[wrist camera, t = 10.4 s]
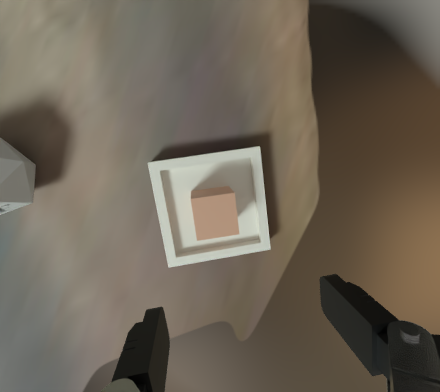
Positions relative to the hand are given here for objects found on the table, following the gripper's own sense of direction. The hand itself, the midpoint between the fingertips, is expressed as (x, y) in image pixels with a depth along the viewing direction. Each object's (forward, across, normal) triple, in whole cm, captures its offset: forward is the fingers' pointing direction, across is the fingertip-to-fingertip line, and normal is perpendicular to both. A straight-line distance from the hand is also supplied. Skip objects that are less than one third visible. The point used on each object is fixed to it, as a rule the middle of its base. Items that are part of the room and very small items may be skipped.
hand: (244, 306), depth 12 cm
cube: (+21, 0, 0) cm, 21 cm away
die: (+23, +24, -8) cm, 34 cm away
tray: (+22, 0, 0) cm, 22 cm away
